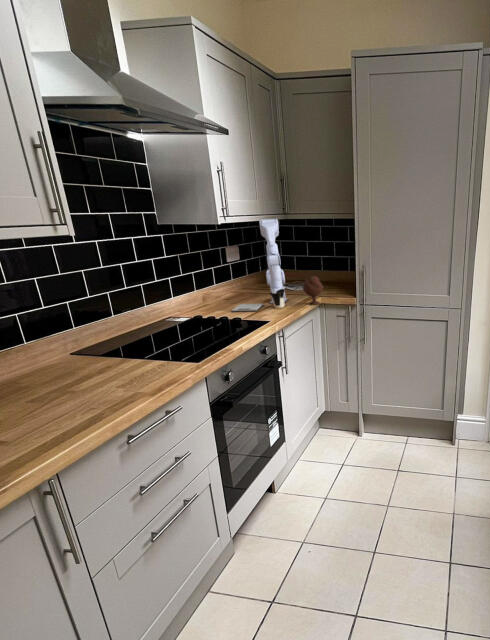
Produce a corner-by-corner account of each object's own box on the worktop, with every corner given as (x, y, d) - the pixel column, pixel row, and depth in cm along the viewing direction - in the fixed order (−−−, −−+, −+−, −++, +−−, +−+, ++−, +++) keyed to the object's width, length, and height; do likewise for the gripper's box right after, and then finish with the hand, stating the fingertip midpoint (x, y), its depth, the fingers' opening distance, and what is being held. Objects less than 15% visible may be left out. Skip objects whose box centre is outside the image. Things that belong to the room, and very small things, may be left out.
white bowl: (275, 305, 236) (274, 296, 234) (285, 305, 236) (284, 296, 234) (272, 308, 231) (271, 298, 229) (283, 307, 231) (282, 298, 229)
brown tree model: (326, 301, 243) (324, 274, 237) (321, 305, 233) (319, 277, 227) (307, 301, 244) (305, 274, 238) (302, 306, 234) (299, 277, 228)
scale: (240, 306, 238) (240, 303, 237) (264, 305, 237) (263, 303, 237) (231, 312, 225) (231, 309, 224) (256, 311, 225) (256, 309, 224)
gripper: (280, 280, 221) (283, 307, 226) (286, 276, 234) (289, 301, 239) (266, 281, 221) (269, 307, 226) (273, 276, 235) (276, 301, 240)
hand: (279, 304), depth 233 cm, fingers closed on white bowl, 5 cm apart
